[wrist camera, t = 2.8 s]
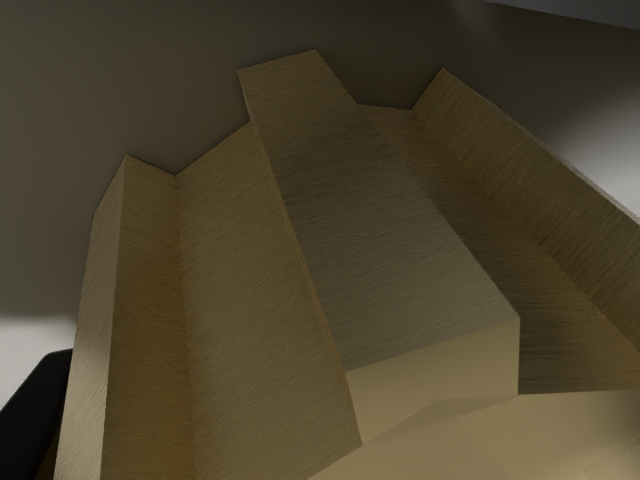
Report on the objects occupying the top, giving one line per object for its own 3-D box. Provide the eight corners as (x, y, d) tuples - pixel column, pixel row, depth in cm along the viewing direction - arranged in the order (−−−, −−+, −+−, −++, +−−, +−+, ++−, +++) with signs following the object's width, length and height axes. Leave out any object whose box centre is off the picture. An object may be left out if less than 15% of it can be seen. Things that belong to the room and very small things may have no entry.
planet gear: (597, 89, 8) (996, 316, 4) (450, 410, 12) (597, 697, 8) (92, 16, 6) (-3, 317, 2) (94, 430, 10) (56, 829, 6)
